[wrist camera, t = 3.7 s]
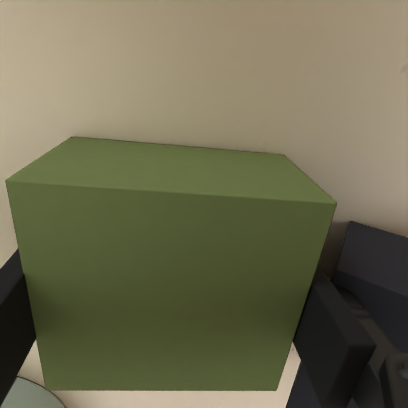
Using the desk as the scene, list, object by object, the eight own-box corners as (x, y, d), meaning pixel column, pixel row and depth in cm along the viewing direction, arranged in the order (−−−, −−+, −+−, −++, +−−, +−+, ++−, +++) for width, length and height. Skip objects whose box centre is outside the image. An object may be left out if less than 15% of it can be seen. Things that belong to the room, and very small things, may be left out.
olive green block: (284, 154, 13) (338, 202, 8) (251, 302, 17) (276, 391, 12) (71, 136, 12) (3, 180, 8) (85, 296, 16) (45, 390, 11)
